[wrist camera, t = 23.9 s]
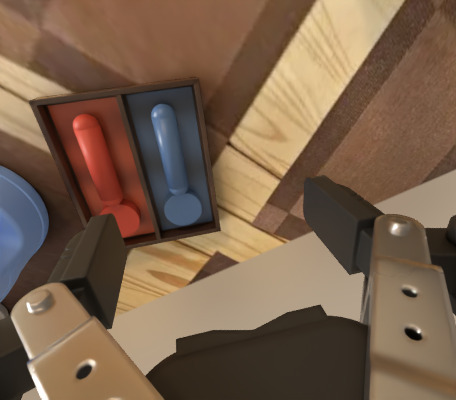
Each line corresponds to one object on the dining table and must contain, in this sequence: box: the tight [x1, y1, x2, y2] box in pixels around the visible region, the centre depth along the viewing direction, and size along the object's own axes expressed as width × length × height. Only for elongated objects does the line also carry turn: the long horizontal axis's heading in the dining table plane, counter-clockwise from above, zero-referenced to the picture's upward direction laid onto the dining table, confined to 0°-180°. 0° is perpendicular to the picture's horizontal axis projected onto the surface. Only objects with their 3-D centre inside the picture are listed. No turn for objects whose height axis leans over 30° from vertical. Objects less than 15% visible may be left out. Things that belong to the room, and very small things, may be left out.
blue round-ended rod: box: [151, 104, 202, 226], centre depth 35 cm, size 17×5×3 cm, turn 6°
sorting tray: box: [29, 77, 221, 250], centre depth 36 cm, size 21×18×3 cm
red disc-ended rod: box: [73, 114, 141, 237], centre depth 34 cm, size 17×5×3 cm, turn 6°
